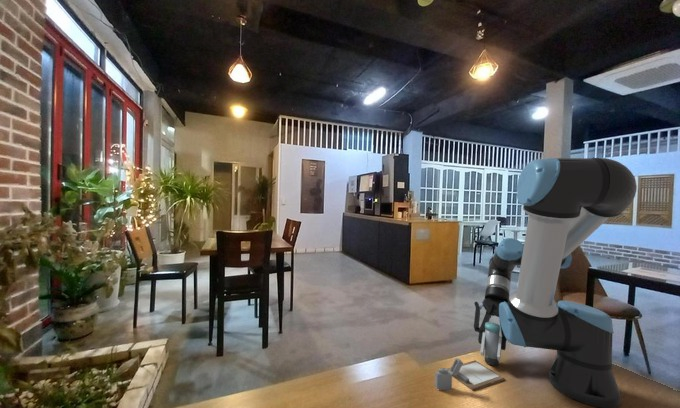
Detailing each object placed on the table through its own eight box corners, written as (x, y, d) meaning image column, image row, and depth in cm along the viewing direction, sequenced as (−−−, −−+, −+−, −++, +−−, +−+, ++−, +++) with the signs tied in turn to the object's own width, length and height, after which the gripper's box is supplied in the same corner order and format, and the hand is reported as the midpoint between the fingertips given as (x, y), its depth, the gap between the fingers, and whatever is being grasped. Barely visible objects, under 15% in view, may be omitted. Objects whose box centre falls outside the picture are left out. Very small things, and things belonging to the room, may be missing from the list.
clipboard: (504, 379, 82) (504, 374, 82) (472, 391, 77) (473, 385, 77) (475, 362, 91) (475, 357, 91) (445, 371, 86) (445, 365, 86)
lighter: (436, 390, 77) (437, 360, 77) (434, 386, 78) (435, 357, 78) (462, 390, 77) (463, 361, 77) (459, 386, 79) (460, 357, 79)
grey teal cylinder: (502, 364, 90) (502, 326, 90) (493, 366, 88) (493, 328, 88) (490, 357, 93) (490, 321, 94) (481, 360, 92) (482, 323, 92)
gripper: (525, 301, 99) (522, 370, 85) (473, 292, 108) (462, 352, 95) (525, 290, 94) (522, 360, 81) (470, 281, 104) (459, 342, 90)
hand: (490, 356), depth 88 cm, fingers closed on grey teal cylinder, 4 cm apart
